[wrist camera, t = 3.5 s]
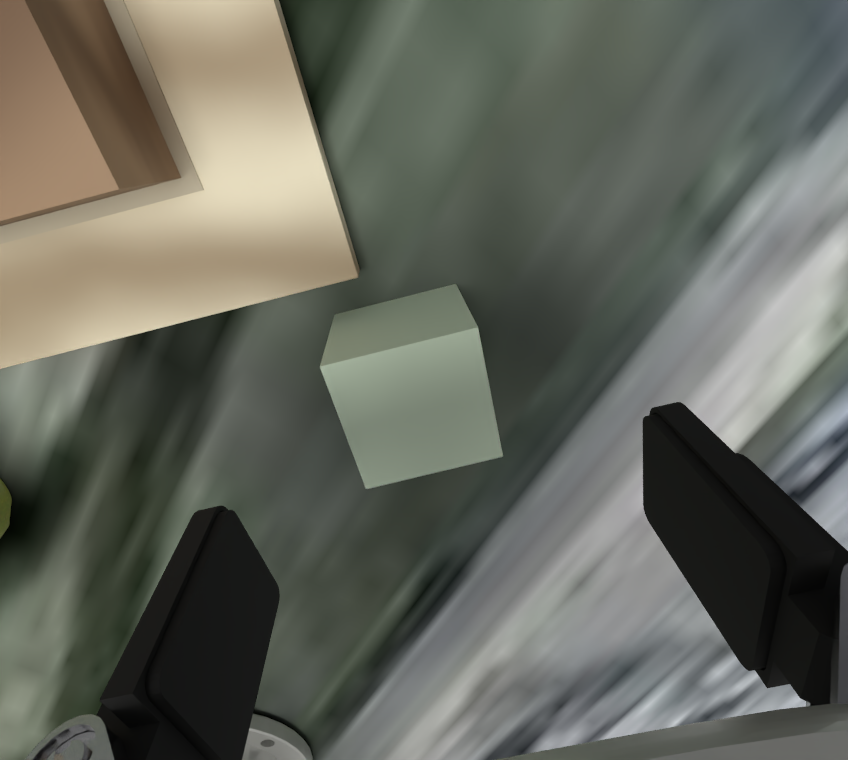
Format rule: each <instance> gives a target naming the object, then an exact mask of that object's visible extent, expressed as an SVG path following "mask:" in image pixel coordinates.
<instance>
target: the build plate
mask: <svg viewBox="0 0 848 760" xmlns="http://www.w3.org/2000/svg"><path fill="white" fill-rule="evenodd" d="M104 2H105V5H106V7H107V9H108V11H109V14H110V16H111V18H112V21H113V23H114V25H115V27H116V30H117V32H118V34H119V36H120V39H121V41H122V43H123V46H124V48H125V50H126V52H127V55H128V57H129V59H130V62H131V64H132V66H133V68H134V71H135V73H136V75H137V77H138V80H139V82H140V84H141V87H142V89H143V91H144V93H145V96H146V98H147V100H148V103H149V105H150V107H151V109H152V112H153V114H154V116H155V119H156V121H157V123H158V125H159V128H160V130H161V132H162V134H163V137H164V139H165V141H166V144H167V146H168V148H169V150H170V153H171V155H172V157H173V160H174V162H175V164H176V166H177V169H178V171H179V173H180V175H181V178H179V179H175V180H172V181H168V182H164V183H160V184H157V185H153V186H149V187H145V188H142V189H138V190H134V191H130V192H127V193H123V194H119V195H115V196H112V197H108V198H104V199H101V200H97V201H93V202H89V203H86V204H82V205H78V206H74V207H71V208H67V209H63V210H59V211H56V212H52V213H48V214H44V215H41V216H37V217H33V218H30V219H26V220H22V221H18V222H15V223H11V224H7V225H3V226H0V369H1V368H5V367H9V366H13V365H17V364H21V363H25V362H29V361H33V360H37V359H41V358H44V357H48V356H52V355H56V354H60V353H64V352H68V351H72V350H76V349H80V348H84V347H88V346H91V345H95V344H99V343H103V342H107V341H111V340H115V339H119V338H123V337H127V336H131V335H135V334H138V333H142V332H146V331H150V330H154V329H158V328H162V327H166V326H170V325H174V324H178V323H182V322H185V321H189V320H193V319H197V318H201V317H205V316H209V315H213V314H217V313H221V312H225V311H229V310H232V309H236V308H240V307H244V306H248V305H252V304H256V303H260V302H264V301H268V300H272V299H276V298H279V297H283V296H287V295H291V294H295V293H299V292H303V291H307V290H311V289H315V288H319V287H323V286H326V285H330V284H334V283H338V282H342V281H346V280H350V279H354V278H358V276H359V271H360V268H359V265H358V262H357V259H356V255H355V252H354V249H353V245H352V242H351V239H350V235H349V232H348V229H347V225H346V222H345V219H344V215H343V212H342V209H341V205H340V202H339V199H338V195H337V192H336V189H335V185H334V182H333V179H332V175H331V172H330V169H329V165H328V162H327V159H326V155H325V152H324V149H323V146H322V142H321V139H320V136H319V132H318V129H317V126H316V122H315V119H314V116H313V112H312V109H311V106H310V102H309V99H308V96H307V92H306V89H305V86H304V82H303V79H302V76H301V72H300V69H299V66H298V62H297V59H296V56H295V52H294V49H293V46H292V42H291V39H290V36H289V33H288V29H287V26H286V23H285V19H284V16H283V13H282V9H281V6H280V3H279V0H104Z"/></svg>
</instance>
